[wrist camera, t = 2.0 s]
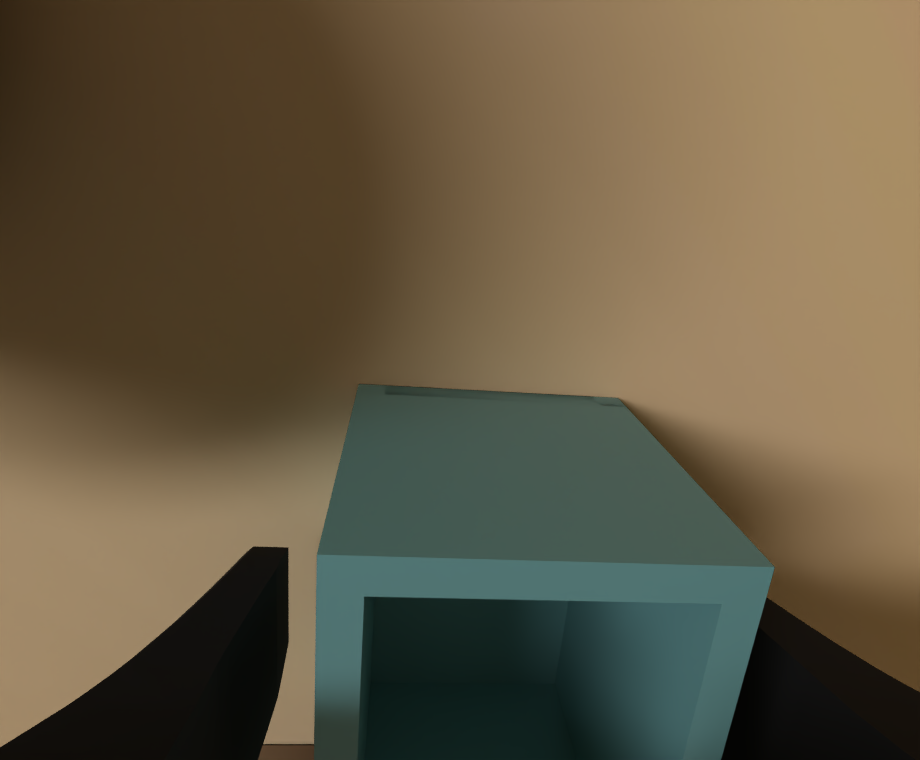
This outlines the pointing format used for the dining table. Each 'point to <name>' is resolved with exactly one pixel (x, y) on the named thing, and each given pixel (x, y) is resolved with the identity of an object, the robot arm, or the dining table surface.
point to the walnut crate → (287, 752)
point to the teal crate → (525, 586)
